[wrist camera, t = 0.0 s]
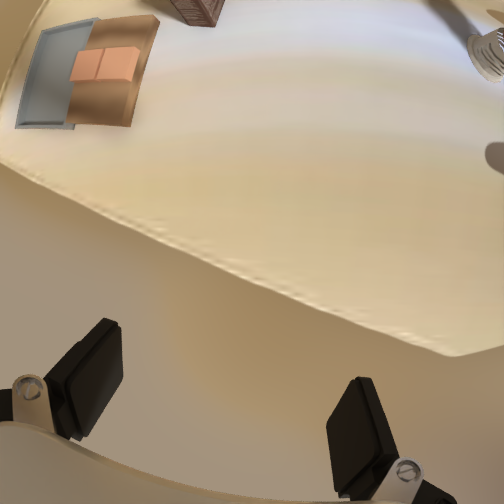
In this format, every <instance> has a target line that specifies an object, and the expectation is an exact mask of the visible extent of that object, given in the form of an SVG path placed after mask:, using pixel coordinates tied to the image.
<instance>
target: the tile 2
mask: <svg viewBox="0 0 504 504" xmlns="http://www.w3.org/2000/svg"><path fill="white" fill-rule="evenodd" d="M139 54H140V50H139V49H137V48H136V47H135V46H132V47H115V48H106V49H105V52H104V55H103V58H102V61H101V64H100V68H99V71H98V75H97V78H96V79H97V80H100V81H102V82H131V81H132V77H133V74H134V70H135V67H136V63H137V60H138V57H139Z"/></svg>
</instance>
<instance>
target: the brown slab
mask: <svg viewBox="0 0 504 504" xmlns="http://www.w3.org/2000/svg"><path fill="white" fill-rule="evenodd" d="M159 24H160V21H159V20H158V19H157V18H156V17H155V16H154V15H140V16H129V17H120V18H112V19H105V20H99V21H95V23H94V25H93V28H92V30H91V33H90V36H89V38H88V41H87V44H86V47H85V50H94V49H106V48H115V47H132V46H135V47H136V48H137V49H139V50H140V54H139V57H138V60H137V63H136V67H135V70H134V74H133V77H132V81H131V82H102V81H101V82H89V83H74V87H73V91H72V95H71V99H70V103H69V108H68V112H67V117H66V122H65V123H73V124H92V125H109V126H122V127H131V122H132V118H133V113H134V109H135V105H136V100H137V96H138V92H139V89H140V85H141V81H142V77H143V74H144V70H145V67H146V64H147V60H148V57H149V54H150V51H151V48H152V45H153V42H154V39H155V36H156V33H157V30H158V27H159ZM85 50H84V51H85Z"/></svg>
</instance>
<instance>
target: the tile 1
mask: <svg viewBox="0 0 504 504" xmlns="http://www.w3.org/2000/svg"><path fill="white" fill-rule="evenodd" d="M104 52H105V49H94V50H85V51H78V54H77V57H76V60H75V63H74V66H73V69H72V73H71V76H70V80H69V81H71V82H74V83H89V82H101V81H100V80H97V79H96V78H97V75H98V71H99V68H100V64H101V61H102V58H103V55H104Z"/></svg>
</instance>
